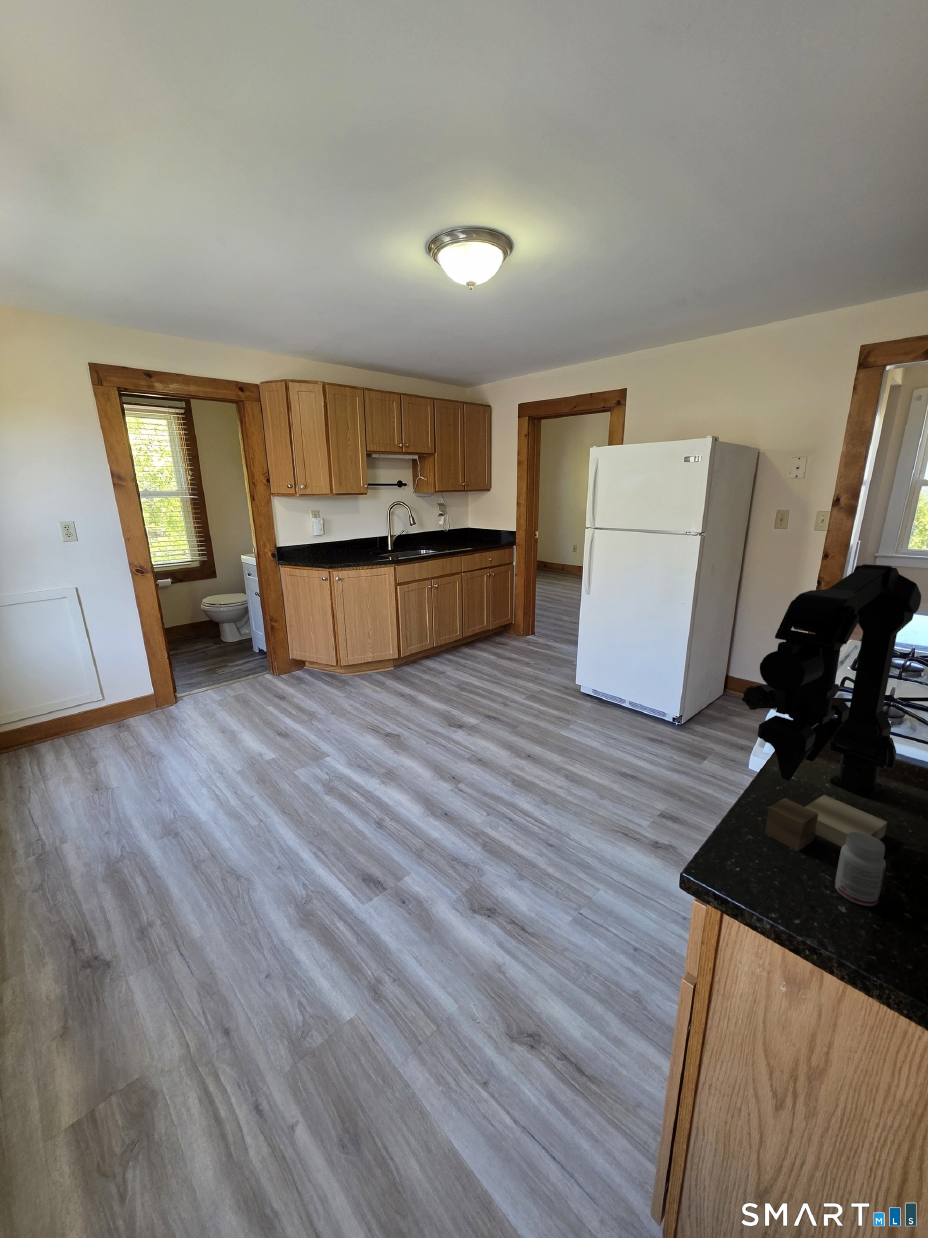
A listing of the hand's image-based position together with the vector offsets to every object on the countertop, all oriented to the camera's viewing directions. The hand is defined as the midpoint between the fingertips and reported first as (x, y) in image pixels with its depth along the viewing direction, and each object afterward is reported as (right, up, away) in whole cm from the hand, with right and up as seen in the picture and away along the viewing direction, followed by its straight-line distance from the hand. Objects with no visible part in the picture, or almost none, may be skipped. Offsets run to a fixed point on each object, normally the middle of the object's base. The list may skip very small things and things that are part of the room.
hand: (797, 769), depth 76 cm
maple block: (+10, -12, +4) cm, 16 cm away
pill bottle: (+2, -15, -9) cm, 17 cm away
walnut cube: (0, -12, +2) cm, 12 cm away
